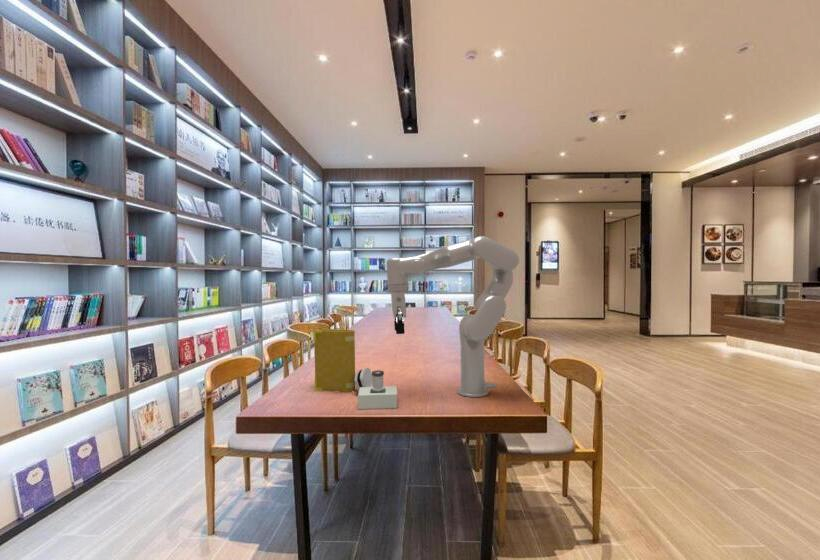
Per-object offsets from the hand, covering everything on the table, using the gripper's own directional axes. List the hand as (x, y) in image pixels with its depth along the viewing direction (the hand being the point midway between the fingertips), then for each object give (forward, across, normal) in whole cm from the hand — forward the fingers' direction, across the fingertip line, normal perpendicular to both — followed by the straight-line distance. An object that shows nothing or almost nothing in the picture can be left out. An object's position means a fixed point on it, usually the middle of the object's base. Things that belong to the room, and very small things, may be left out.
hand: (399, 331), depth 150 cm
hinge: (+25, +9, +14) cm, 30 cm away
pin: (+25, -9, +10) cm, 28 cm away
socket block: (+25, -9, +10) cm, 28 cm away
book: (+24, +12, +27) cm, 38 cm away
